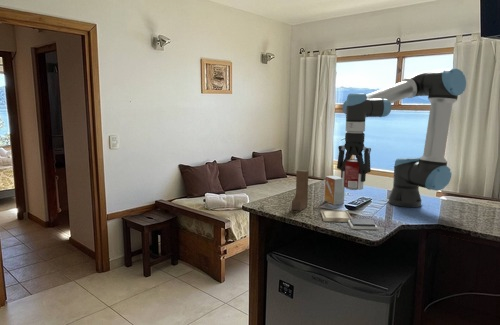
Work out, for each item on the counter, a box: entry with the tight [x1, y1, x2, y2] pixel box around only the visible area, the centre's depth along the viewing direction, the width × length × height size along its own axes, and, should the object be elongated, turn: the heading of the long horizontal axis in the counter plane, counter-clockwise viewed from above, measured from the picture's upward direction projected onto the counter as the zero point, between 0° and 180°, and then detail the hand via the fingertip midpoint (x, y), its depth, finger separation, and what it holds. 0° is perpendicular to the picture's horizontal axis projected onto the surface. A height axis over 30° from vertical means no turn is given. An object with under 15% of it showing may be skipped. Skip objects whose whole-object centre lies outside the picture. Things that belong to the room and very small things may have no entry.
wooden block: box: [291, 169, 309, 212], centre depth 168 cm, size 9×4×18 cm, turn 149°
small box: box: [324, 175, 346, 206], centre depth 179 cm, size 8×6×13 cm
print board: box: [320, 209, 353, 223], centre depth 156 cm, size 12×12×1 cm
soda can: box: [344, 158, 360, 191], centre depth 146 cm, size 7×7×12 cm
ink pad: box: [347, 218, 379, 231], centre depth 145 cm, size 10×8×2 cm
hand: (352, 187), depth 147 cm, fingers closed on soda can, 7 cm apart
